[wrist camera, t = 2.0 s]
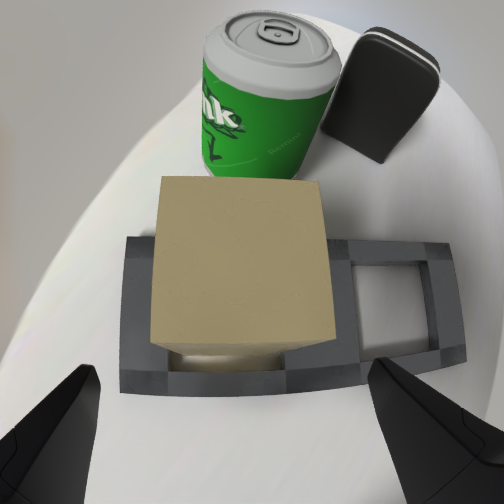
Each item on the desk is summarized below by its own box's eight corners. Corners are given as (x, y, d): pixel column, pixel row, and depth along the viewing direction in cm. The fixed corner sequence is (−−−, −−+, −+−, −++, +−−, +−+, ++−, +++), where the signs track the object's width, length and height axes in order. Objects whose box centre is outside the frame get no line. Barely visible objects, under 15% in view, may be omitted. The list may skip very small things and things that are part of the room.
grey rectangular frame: (457, 362, 21) (466, 361, 20) (124, 391, 17) (119, 392, 16) (440, 248, 24) (448, 243, 23) (130, 243, 21) (127, 236, 20)
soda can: (300, 138, 26) (344, 23, 15) (291, 213, 23) (352, 92, 12) (214, 120, 26) (223, -3, 14) (191, 192, 23) (183, 56, 12)
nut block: (265, 355, 20) (335, 338, 8) (185, 356, 19) (150, 342, 8) (261, 279, 21) (317, 181, 10) (186, 279, 21) (161, 176, 9)
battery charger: (391, 144, 28) (450, 60, 17) (382, 168, 26) (449, 80, 16) (329, 108, 28) (370, 14, 17) (315, 130, 27) (359, 27, 16)
